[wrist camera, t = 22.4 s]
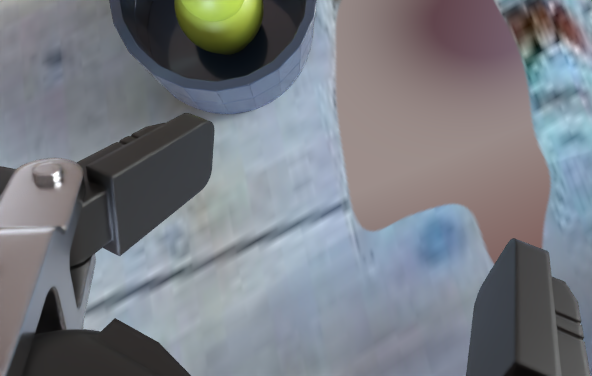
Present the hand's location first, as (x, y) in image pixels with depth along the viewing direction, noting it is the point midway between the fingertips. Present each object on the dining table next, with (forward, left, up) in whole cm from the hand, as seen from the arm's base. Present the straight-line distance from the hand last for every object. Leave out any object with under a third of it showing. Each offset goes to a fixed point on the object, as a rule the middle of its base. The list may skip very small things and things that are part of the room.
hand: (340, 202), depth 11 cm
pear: (+8, -14, -23) cm, 28 cm away
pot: (+8, -14, -23) cm, 28 cm away
